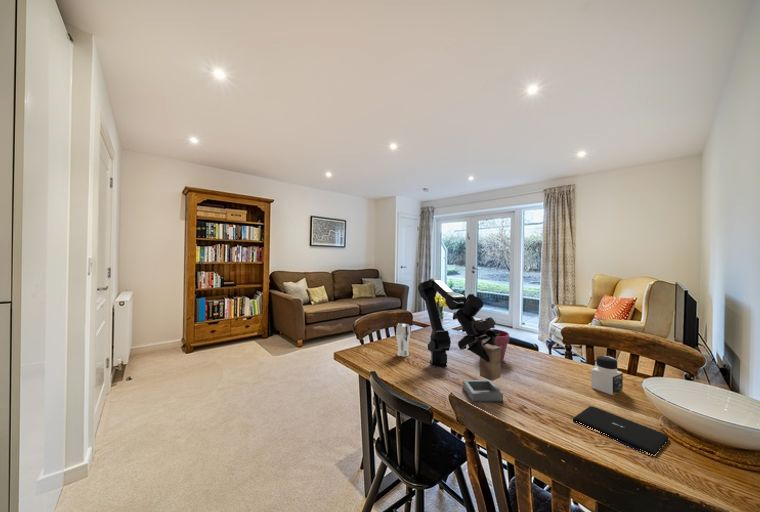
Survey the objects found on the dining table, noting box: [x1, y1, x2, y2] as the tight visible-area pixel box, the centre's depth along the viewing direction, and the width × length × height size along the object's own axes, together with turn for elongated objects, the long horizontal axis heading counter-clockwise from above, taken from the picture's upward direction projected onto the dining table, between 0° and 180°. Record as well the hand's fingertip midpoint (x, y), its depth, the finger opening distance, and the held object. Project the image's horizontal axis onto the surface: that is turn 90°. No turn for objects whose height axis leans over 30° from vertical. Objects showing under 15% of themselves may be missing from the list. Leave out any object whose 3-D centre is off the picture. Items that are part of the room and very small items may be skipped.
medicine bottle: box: [590, 355, 624, 396], centre depth 105 cm, size 7×7×12 cm
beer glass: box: [395, 323, 411, 358], centre depth 142 cm, size 7×7×15 cm
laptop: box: [572, 405, 669, 455], centre depth 81 cm, size 16×20×2 cm
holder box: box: [462, 379, 504, 403], centre depth 101 cm, size 10×10×3 cm
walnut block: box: [479, 344, 501, 382], centre depth 102 cm, size 5×5×11 cm
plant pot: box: [482, 328, 510, 363], centre depth 137 cm, size 14×14×13 cm
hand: (493, 359), depth 101 cm, fingers closed on walnut block, 5 cm apart
